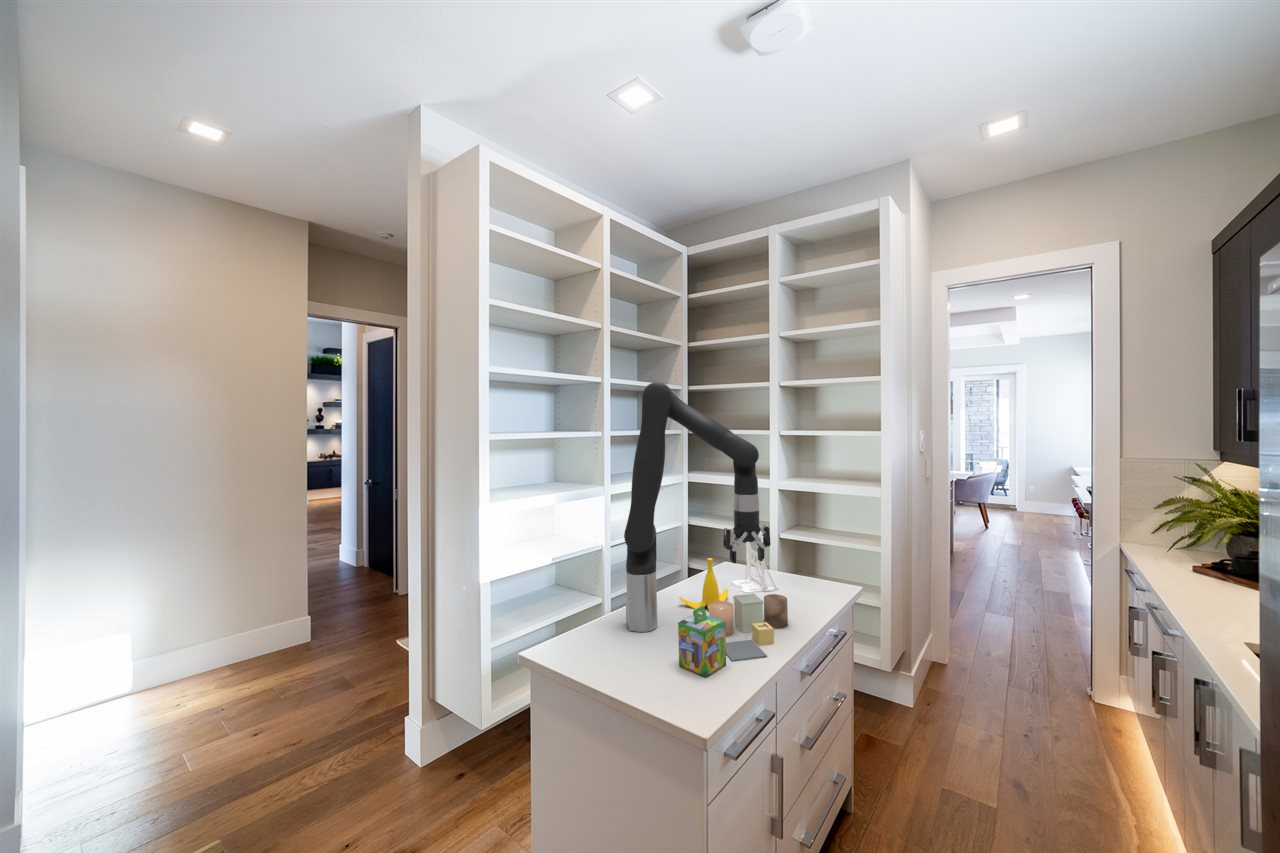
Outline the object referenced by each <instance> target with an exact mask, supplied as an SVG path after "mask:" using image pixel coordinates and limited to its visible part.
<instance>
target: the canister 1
mask: <svg viewBox="0 0 1280 853" xmlns="http://www.w3.org/2000/svg"><path fill="white" fill-rule="evenodd" d="M708 612H709V615H708V616H711V617H714V618H715V619H718V620H721V621H724V622H725V627H726V638H727V637H731V636H732V635H734V633H735V632H734V603H731V602H729V601H727V600H726V601H714V602H711V603H710V604H709V610H708Z"/></svg>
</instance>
